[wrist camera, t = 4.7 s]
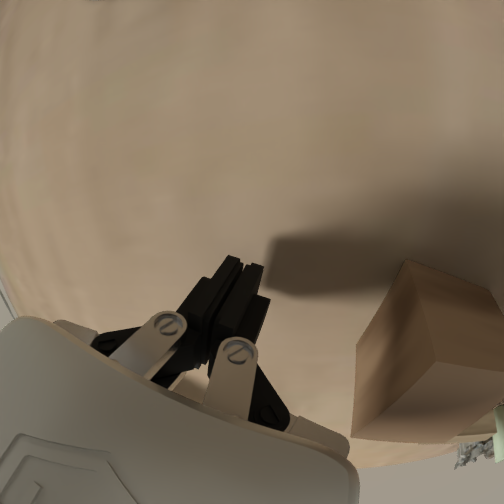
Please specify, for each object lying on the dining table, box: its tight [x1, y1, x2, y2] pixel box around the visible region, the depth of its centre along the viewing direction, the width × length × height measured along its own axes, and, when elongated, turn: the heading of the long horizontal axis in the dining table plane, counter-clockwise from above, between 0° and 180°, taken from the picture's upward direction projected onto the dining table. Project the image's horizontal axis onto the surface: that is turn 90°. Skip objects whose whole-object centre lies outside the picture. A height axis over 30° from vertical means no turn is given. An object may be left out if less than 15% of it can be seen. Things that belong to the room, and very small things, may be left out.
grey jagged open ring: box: [455, 437, 495, 469], centre depth 15 cm, size 11×8×4 cm
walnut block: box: [351, 259, 504, 443], centre depth 10 cm, size 6×6×6 cm
